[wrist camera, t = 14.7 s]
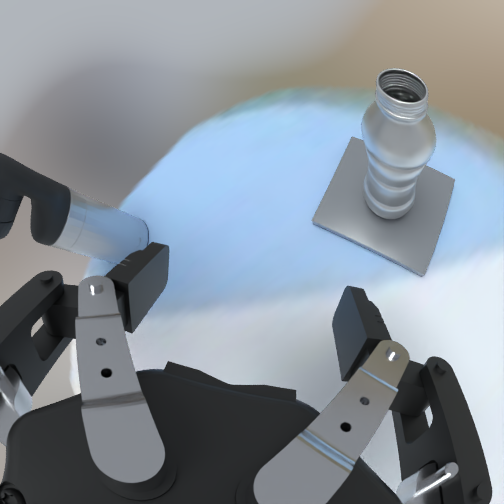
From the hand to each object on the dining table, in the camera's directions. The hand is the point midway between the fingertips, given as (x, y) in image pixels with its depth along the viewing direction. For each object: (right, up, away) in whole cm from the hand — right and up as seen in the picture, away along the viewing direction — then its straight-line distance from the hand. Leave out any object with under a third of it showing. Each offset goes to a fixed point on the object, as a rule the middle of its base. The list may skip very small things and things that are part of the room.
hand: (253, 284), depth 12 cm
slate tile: (+18, +8, +21) cm, 28 cm away
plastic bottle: (+17, +8, +19) cm, 27 cm away
